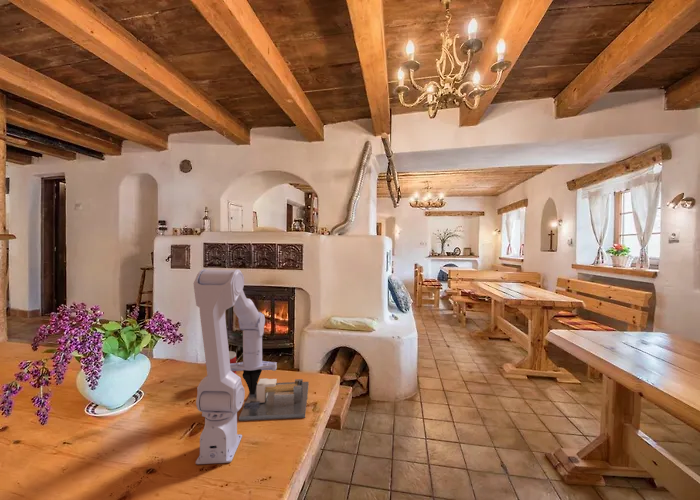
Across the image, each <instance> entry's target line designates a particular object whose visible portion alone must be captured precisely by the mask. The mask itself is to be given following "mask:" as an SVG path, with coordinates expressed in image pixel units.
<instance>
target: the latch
mask: <svg viewBox="0 0 700 500" xmlns="http://www.w3.org/2000/svg"><path fill="white" fill-rule="evenodd" d="M277 379H278V378H259V379H258V382H257V401H260V403H263V402H265V400H266V398H267V395H268V392H267V393H265V390H266V387H275V385H276V383H278V382H277Z"/></svg>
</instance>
